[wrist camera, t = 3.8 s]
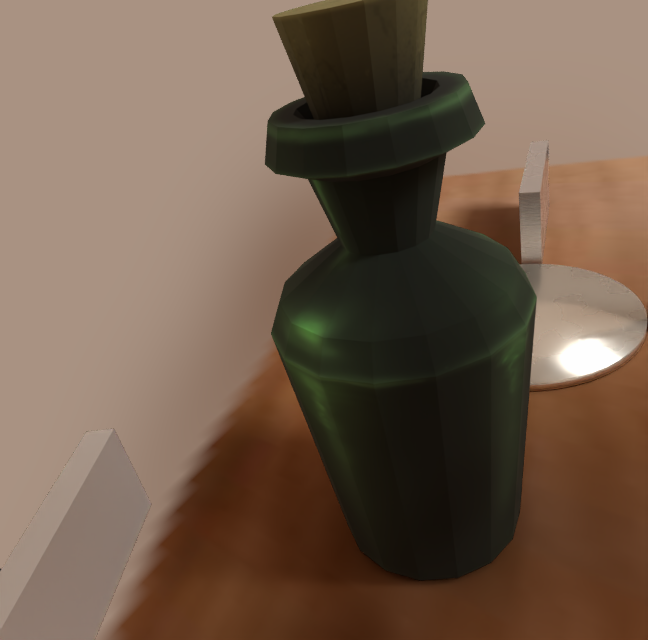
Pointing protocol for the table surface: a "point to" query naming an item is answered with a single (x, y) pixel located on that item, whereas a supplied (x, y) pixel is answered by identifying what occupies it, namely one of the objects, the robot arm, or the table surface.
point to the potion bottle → (400, 297)
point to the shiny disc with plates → (571, 300)
